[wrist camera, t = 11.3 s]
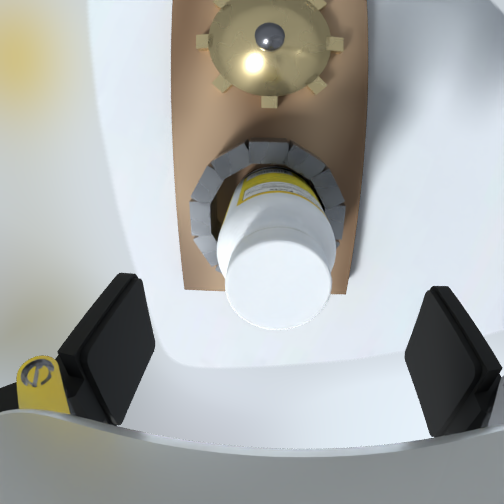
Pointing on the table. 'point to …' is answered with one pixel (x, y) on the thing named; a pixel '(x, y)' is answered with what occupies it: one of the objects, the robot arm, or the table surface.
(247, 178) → the supplement bottle
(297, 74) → the brass gear
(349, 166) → the gear board
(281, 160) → the socket ring
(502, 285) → the table surface
